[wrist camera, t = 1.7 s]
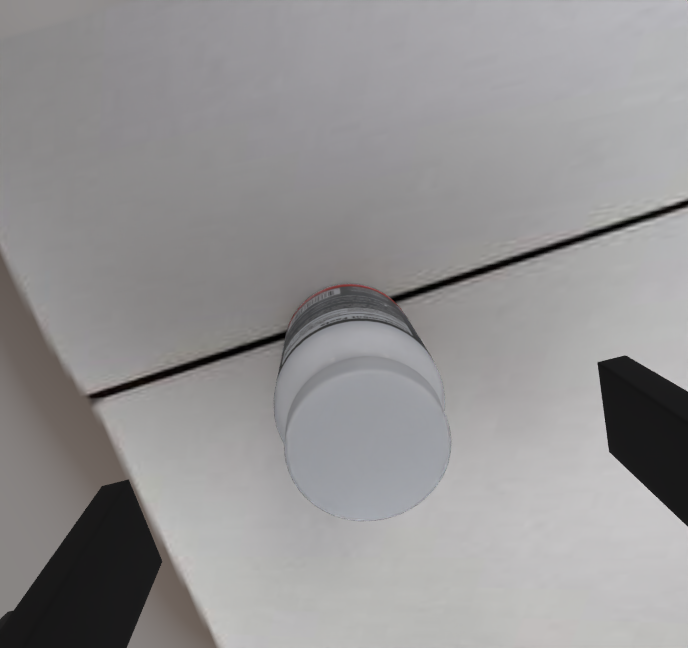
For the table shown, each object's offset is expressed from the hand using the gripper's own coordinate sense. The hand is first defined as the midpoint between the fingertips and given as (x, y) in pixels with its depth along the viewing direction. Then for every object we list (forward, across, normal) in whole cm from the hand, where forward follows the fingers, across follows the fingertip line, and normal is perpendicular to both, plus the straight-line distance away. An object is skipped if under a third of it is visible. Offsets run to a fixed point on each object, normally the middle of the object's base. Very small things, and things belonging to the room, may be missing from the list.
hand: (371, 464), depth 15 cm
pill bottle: (+10, 0, 0) cm, 10 cm away
